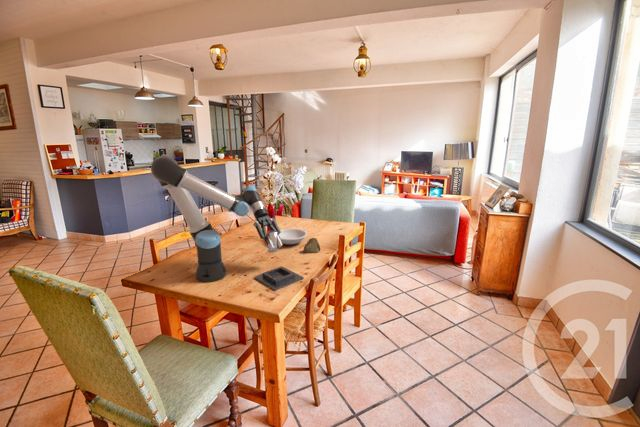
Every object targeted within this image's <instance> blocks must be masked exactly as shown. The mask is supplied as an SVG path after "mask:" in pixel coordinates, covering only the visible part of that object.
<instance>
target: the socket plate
mask: <svg viewBox="0 0 640 427" xmlns="http://www.w3.org/2000/svg"><path fill="white" fill-rule="evenodd" d="M254 279H255V280H256V281H258V282H259V283H262V284H263V285H264V286H267V287H270V288H269V289H271V290H272V291H274V292H275V291H278V290H281V289H283V288H285V287H288V286H291V285H292V284H295V283H297V281H298V282H300V281H302V280H304V279H305V278H304V276H302V275H301V274H298V273H296V272H294V271H292V270H290V269H288V268H287V267H284V266H279V267H275V268H274V269H270V270H266V271H265V272H262V273H261V274H258V275H255V276H254ZM299 280H300V281H299Z"/></svg>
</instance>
